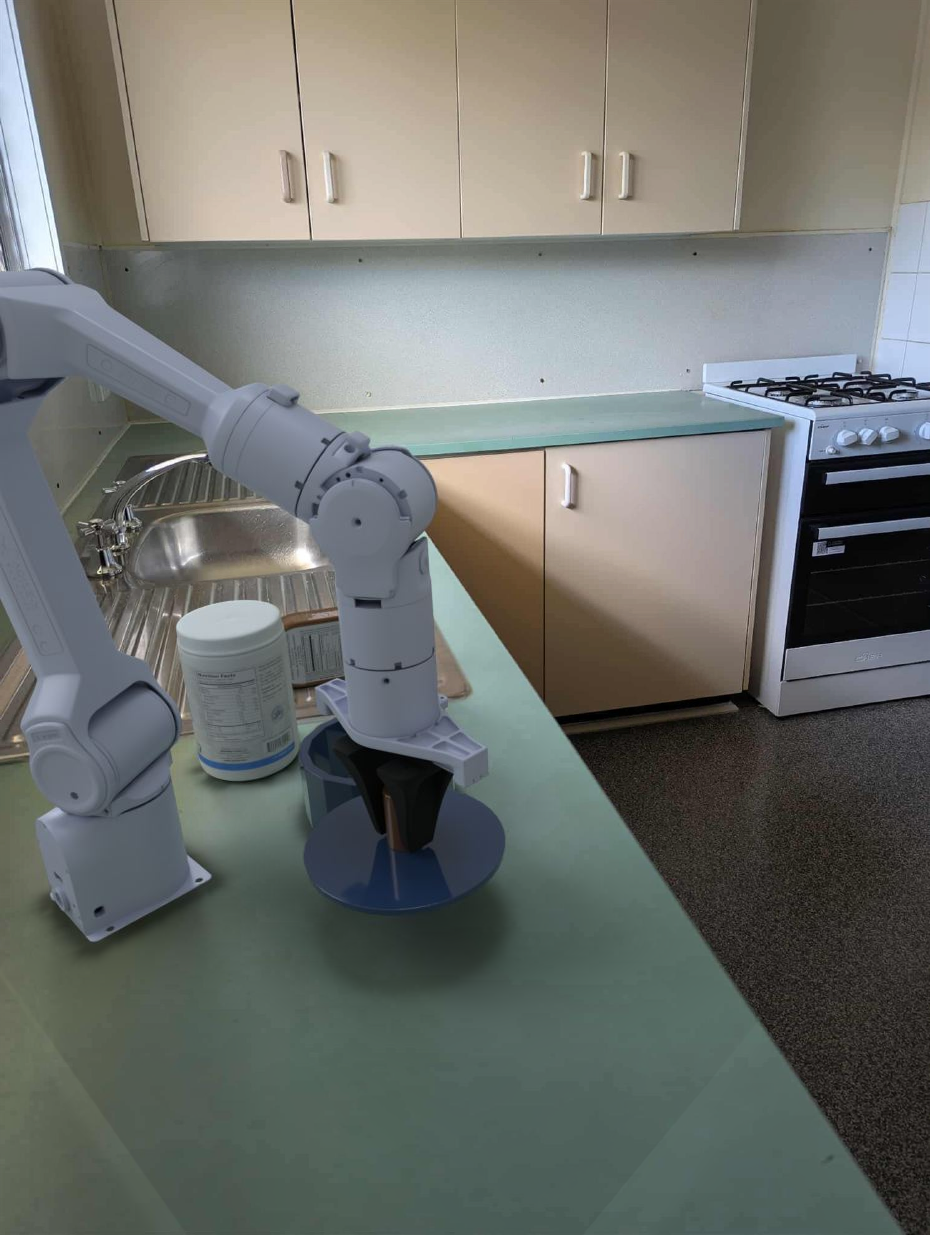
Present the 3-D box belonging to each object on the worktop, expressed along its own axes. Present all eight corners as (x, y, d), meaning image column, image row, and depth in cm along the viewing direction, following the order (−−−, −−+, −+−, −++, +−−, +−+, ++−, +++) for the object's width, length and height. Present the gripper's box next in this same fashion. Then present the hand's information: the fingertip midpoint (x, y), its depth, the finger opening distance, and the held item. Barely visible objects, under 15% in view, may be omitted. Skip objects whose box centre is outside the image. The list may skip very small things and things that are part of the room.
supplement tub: (209, 738, 88) (185, 602, 83) (304, 729, 89) (286, 594, 83) (191, 790, 79) (162, 642, 74) (297, 781, 80) (276, 633, 74)
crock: (372, 874, 67) (364, 803, 65) (279, 812, 75) (269, 747, 73) (485, 803, 75) (482, 738, 73) (390, 754, 84) (384, 694, 81)
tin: (394, 662, 103) (388, 595, 100) (401, 672, 100) (395, 604, 97) (265, 685, 99) (255, 616, 96) (269, 697, 96) (258, 626, 93)
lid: (395, 958, 51) (388, 883, 49) (265, 859, 60) (254, 793, 58) (547, 849, 59) (546, 782, 57) (413, 777, 68) (409, 717, 66)
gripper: (520, 662, 51) (525, 852, 57) (365, 606, 61) (381, 773, 66) (433, 705, 47) (446, 907, 52) (280, 637, 57) (304, 814, 62)
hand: (404, 835), depth 59 cm, fingers closed on lid, 2 cm apart
